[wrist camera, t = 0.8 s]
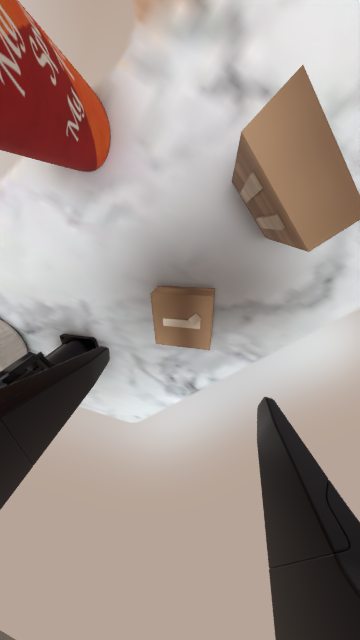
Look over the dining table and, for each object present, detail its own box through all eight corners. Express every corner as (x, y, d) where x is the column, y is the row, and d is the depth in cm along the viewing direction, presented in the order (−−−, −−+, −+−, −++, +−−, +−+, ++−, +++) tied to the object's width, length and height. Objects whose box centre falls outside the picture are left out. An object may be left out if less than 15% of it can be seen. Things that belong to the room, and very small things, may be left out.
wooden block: (264, 239, 17) (304, 254, 9) (229, 183, 16) (237, 136, 7) (291, 219, 16) (368, 214, 8) (256, 157, 15) (303, 64, 6)
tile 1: (162, 331, 26) (155, 344, 23) (158, 285, 22) (149, 293, 20) (211, 336, 24) (209, 351, 22) (215, 287, 21) (213, 297, 18)
